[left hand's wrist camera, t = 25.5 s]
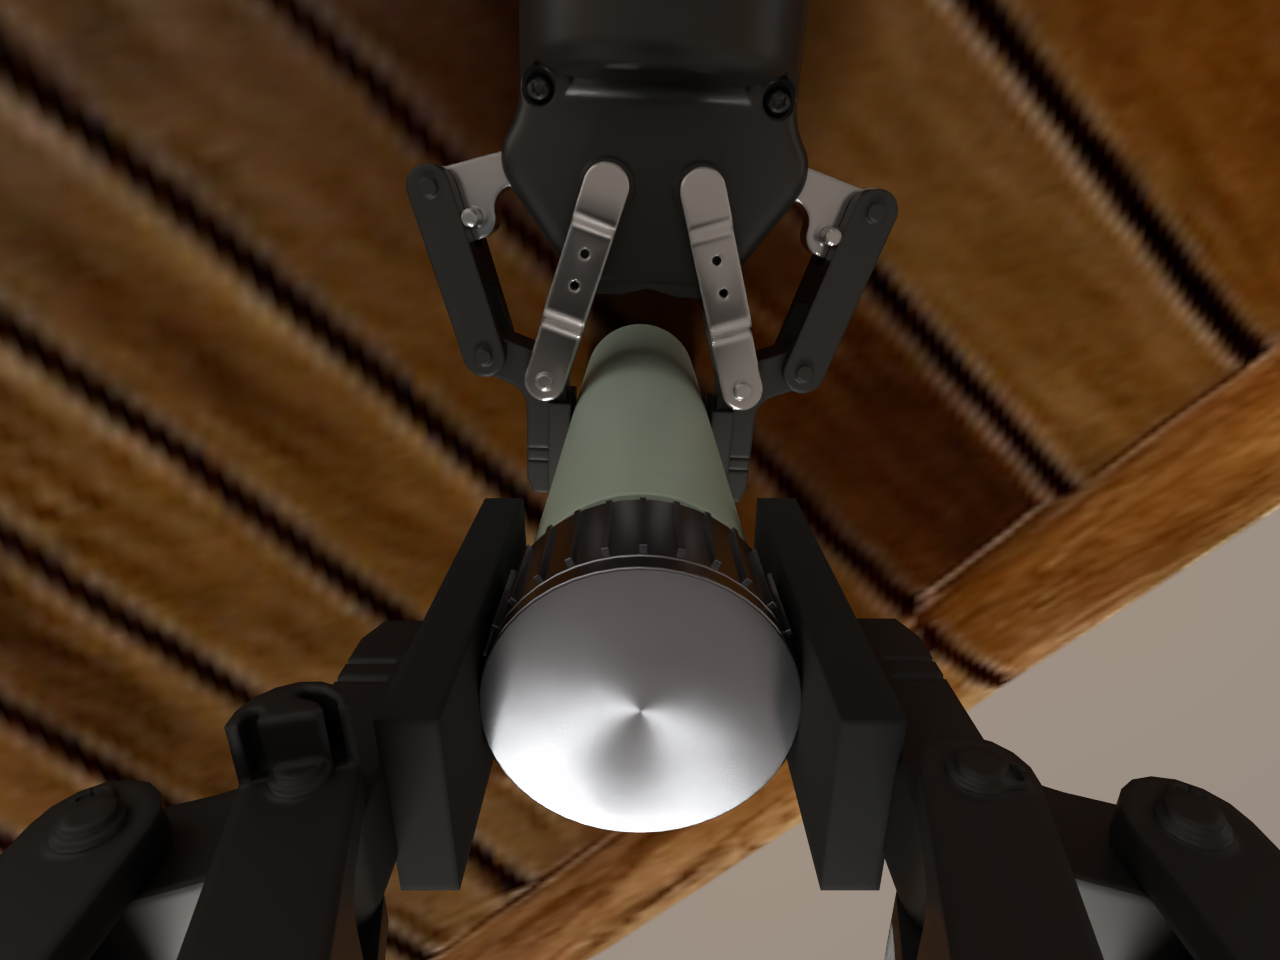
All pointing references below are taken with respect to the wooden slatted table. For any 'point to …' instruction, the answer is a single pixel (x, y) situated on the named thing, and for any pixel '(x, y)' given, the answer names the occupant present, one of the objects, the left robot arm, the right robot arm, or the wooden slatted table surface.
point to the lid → (640, 669)
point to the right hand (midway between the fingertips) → (636, 502)
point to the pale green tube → (640, 433)
